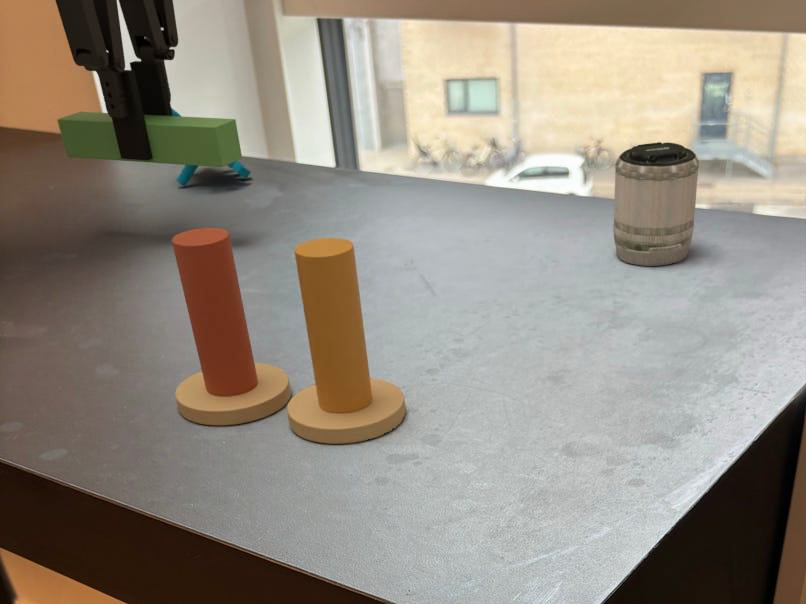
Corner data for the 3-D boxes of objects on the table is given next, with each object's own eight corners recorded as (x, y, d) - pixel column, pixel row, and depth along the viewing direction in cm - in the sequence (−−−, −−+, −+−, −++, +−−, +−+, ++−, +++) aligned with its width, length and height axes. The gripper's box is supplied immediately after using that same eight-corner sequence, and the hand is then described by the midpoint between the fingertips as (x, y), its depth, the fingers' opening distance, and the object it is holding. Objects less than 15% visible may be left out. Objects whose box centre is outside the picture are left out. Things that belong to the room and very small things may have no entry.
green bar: (67, 157, 88) (56, 119, 86) (89, 148, 90) (80, 111, 88) (222, 167, 83) (215, 127, 81) (242, 158, 85) (235, 118, 83)
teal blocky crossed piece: (257, 171, 101) (168, 99, 96) (224, 221, 103) (134, 153, 98) (250, 162, 110) (168, 96, 106) (220, 208, 112) (138, 145, 107)
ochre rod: (267, 435, 60) (233, 262, 53) (325, 386, 65) (300, 223, 58) (373, 451, 57) (350, 273, 51) (424, 399, 62) (410, 231, 56)
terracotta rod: (155, 417, 62) (111, 251, 56) (219, 371, 67) (185, 214, 61) (252, 432, 60) (217, 261, 54) (311, 384, 65) (285, 222, 59)
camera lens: (600, 248, 83) (603, 144, 78) (671, 238, 84) (678, 134, 79) (630, 272, 78) (635, 163, 73) (705, 261, 79) (714, 152, 74)
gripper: (35, -211, 65) (127, 180, 79) (183, -208, 76) (239, 134, 91) (-54, -206, 67) (51, 174, 82) (103, -203, 78) (170, 129, 93)
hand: (150, 152), depth 86 cm, fingers closed on green bar, 3 cm apart
